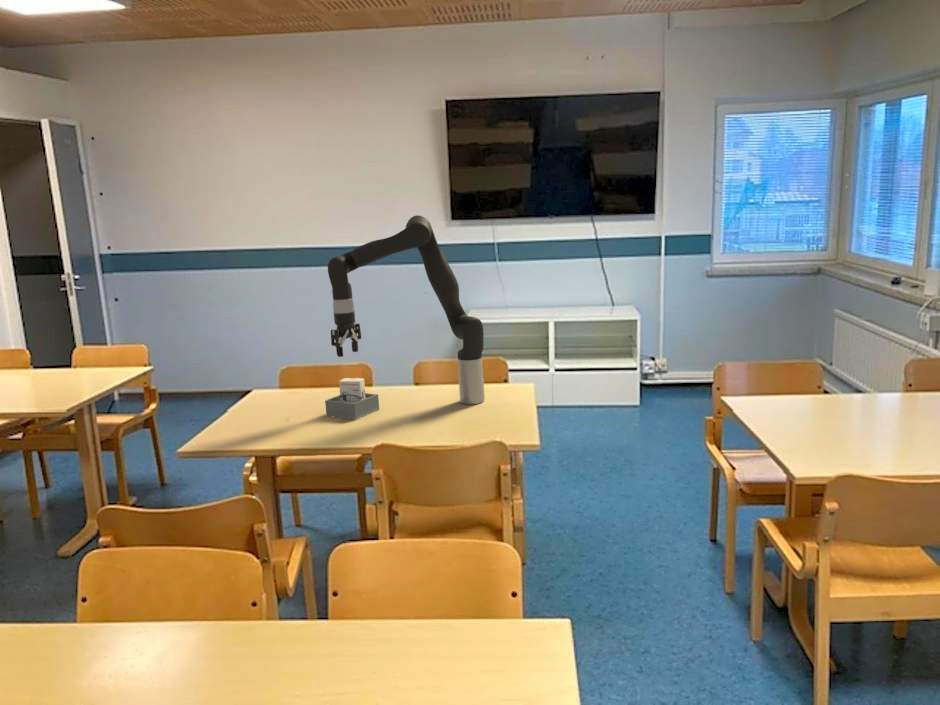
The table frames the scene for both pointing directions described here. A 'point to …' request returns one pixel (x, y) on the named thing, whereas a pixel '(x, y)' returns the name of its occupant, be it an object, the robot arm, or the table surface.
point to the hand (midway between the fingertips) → (347, 354)
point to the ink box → (352, 390)
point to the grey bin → (352, 407)
